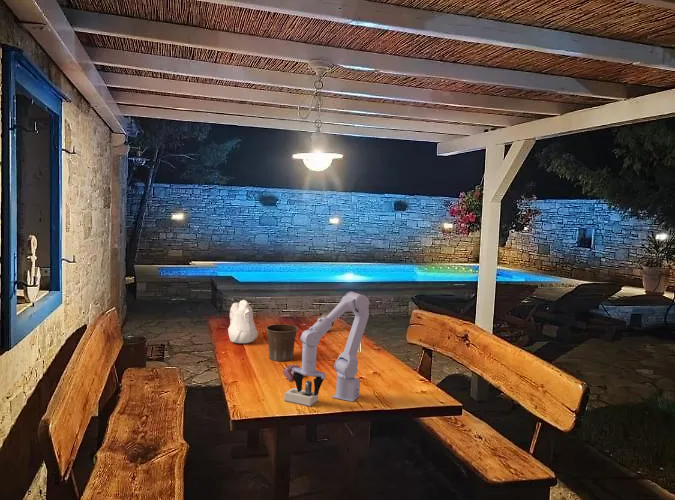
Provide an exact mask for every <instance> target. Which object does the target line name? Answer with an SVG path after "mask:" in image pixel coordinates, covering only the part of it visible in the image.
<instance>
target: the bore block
mask: <svg viewBox="0 0 675 500" xmlns="http://www.w3.org/2000/svg"><path fill="white" fill-rule="evenodd" d="M283 401H284V402H286V403H291V404H296V405H300V406H304V407H309V408H311V407H312V406H314V405H315V404H317V403H318V402H319V394H318V395H316V396H315V395H314V391H311V396H305V389H302V391H300V392H298V390H297V387H292V388H290V389H288V390H287V391H285V392H284V399H283Z"/></svg>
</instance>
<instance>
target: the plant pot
mask: <svg viewBox="0 0 675 500" xmlns="http://www.w3.org/2000/svg"><path fill="white" fill-rule="evenodd" d="M298 329H299V327H298V326H296V325H292V324H286V323H282V324H281V323H276V324H275V323H274V324H270V325H267V326H266V327H265V330H266V333H267V342H268V357H269V359H270V360H271V361H274V362H284V361H285V362H289V361H291V360H293V358H294V351H295V342H296V337H297V333H298V332H297V331H298Z"/></svg>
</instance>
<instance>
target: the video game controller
mask: <svg viewBox="0 0 675 500" xmlns="http://www.w3.org/2000/svg"><path fill="white" fill-rule="evenodd" d="M294 367H296V368H301V366H299V365H298V364H291V365H290V364H289V365H287V366H286V367H285V368H284V369H283V371H282V373H283V375H284V376H285V378H286V379H287V380H288V381H290V382H292V381H293V375H294V373H292V368H294ZM305 376H306V375H303V378H304V377H305Z"/></svg>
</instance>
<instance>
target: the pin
mask: <svg viewBox="0 0 675 500" xmlns="http://www.w3.org/2000/svg"><path fill="white" fill-rule="evenodd" d="M312 386H313V381H311V380H306V381H305V389H304V390H305V396H311V392H313V391H312Z"/></svg>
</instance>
